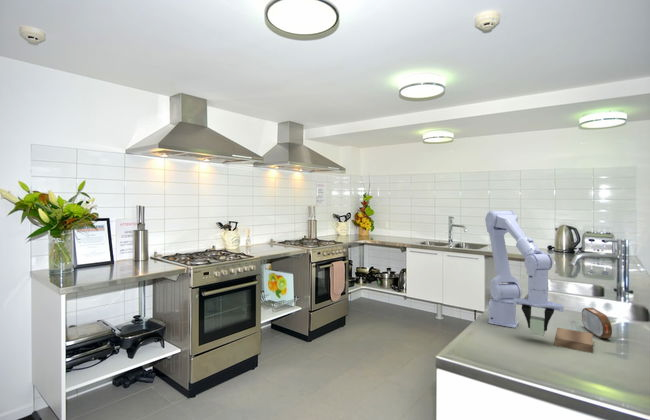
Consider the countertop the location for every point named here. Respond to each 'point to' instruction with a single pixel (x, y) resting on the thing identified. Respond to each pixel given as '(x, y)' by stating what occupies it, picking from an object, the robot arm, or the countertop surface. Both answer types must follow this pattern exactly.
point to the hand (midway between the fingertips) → (537, 328)
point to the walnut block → (574, 340)
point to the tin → (596, 323)
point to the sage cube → (537, 325)
